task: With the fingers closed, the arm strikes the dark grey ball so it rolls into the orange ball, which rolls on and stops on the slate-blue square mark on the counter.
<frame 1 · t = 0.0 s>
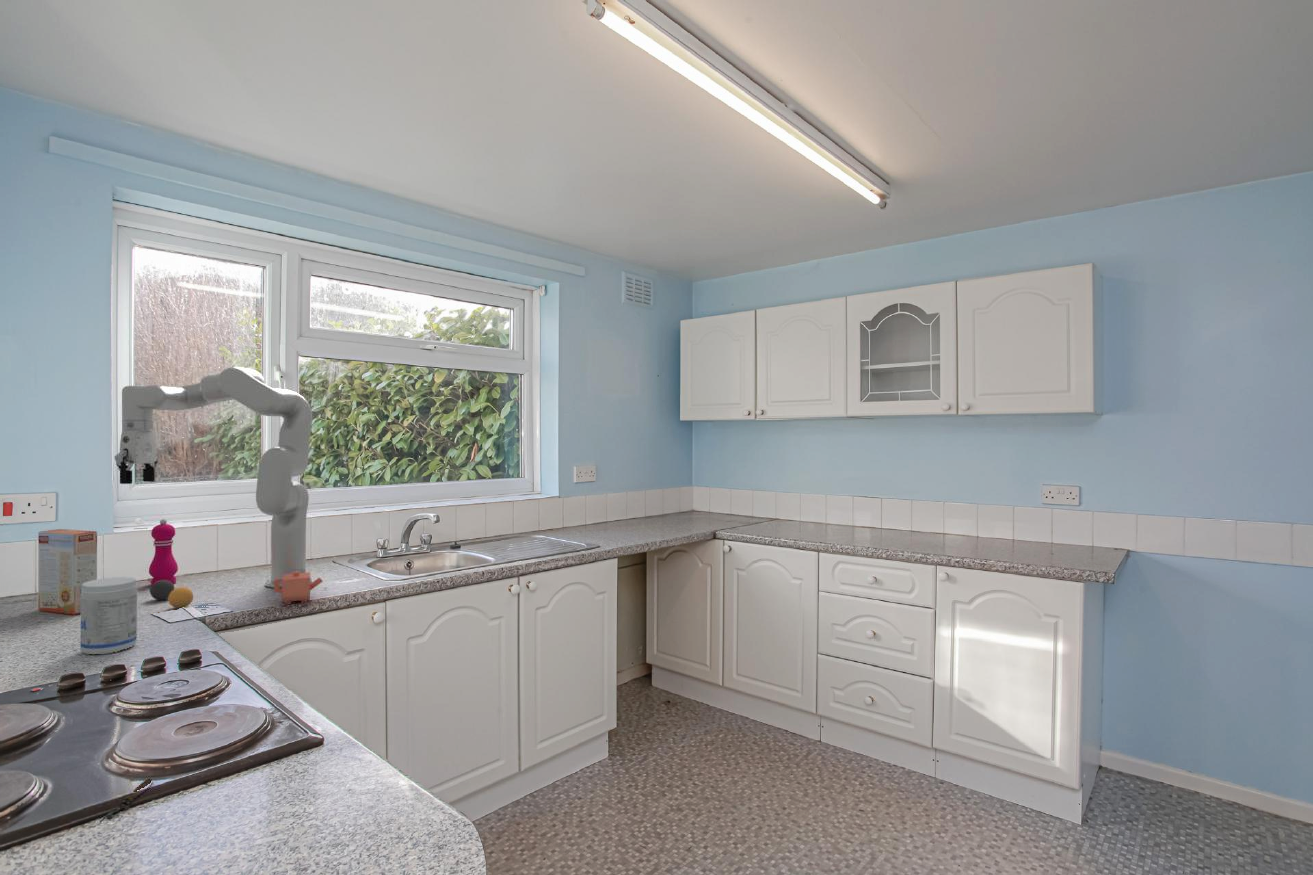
hand: (137, 482, 209), 31 cm above the countertop, tool pointing down, fingers open, 9 cm apart
can opener: (127, 806, 87), on the countertop
pink cube teapot: (298, 601, 190), on the countertop
orange ball: (180, 597, 182), on the countertop
dark grey ball: (162, 590, 190), on the countertop
supplement tub: (109, 650, 148), on the countertop
pepper mill: (163, 584, 210), on the countertop
cracker box: (68, 611, 179), on the countertop
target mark: (192, 612, 177), on the countertop
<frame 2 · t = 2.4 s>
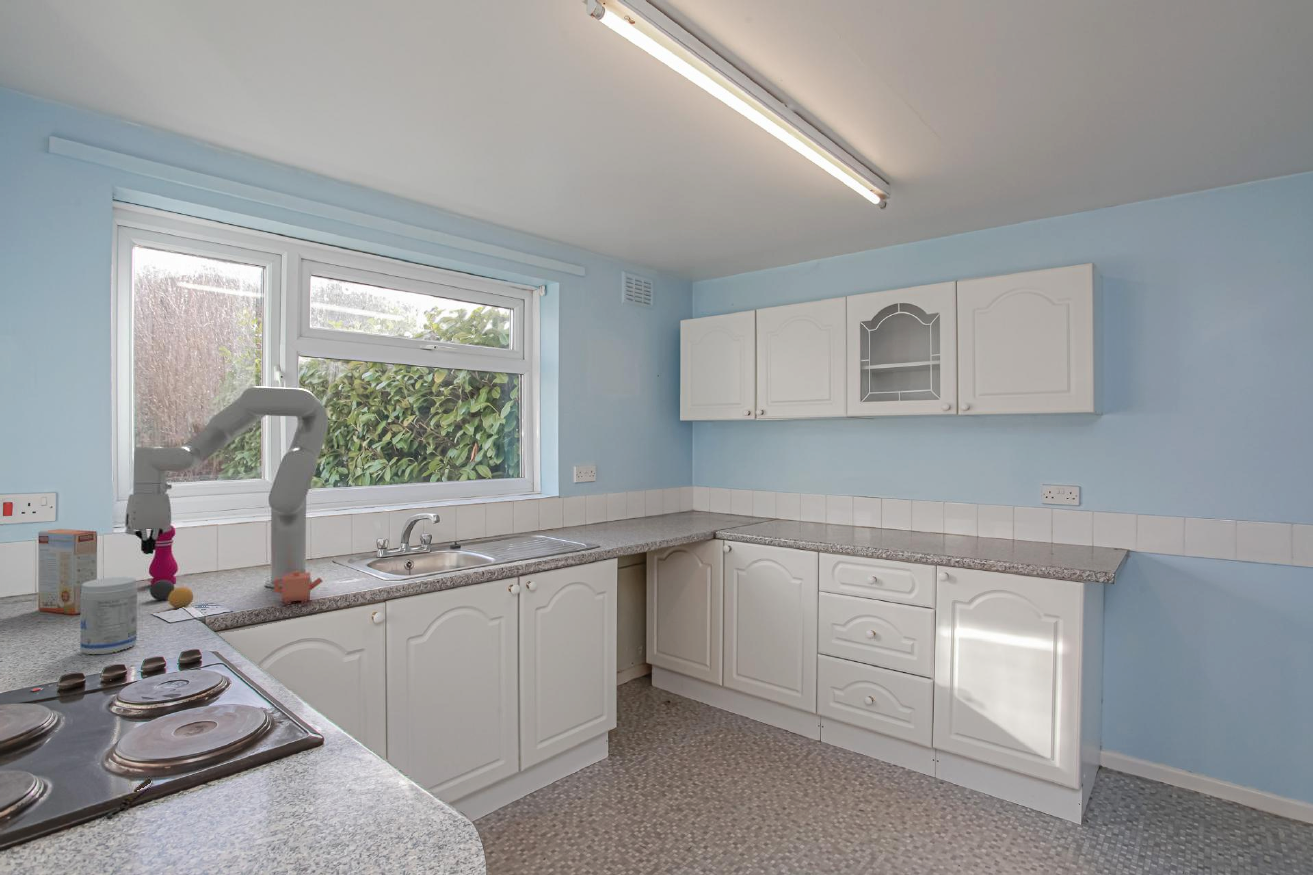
hand: (148, 553, 196), 12 cm above the countertop, tool pointing down, fingers closed
nothing on the countertop moved.
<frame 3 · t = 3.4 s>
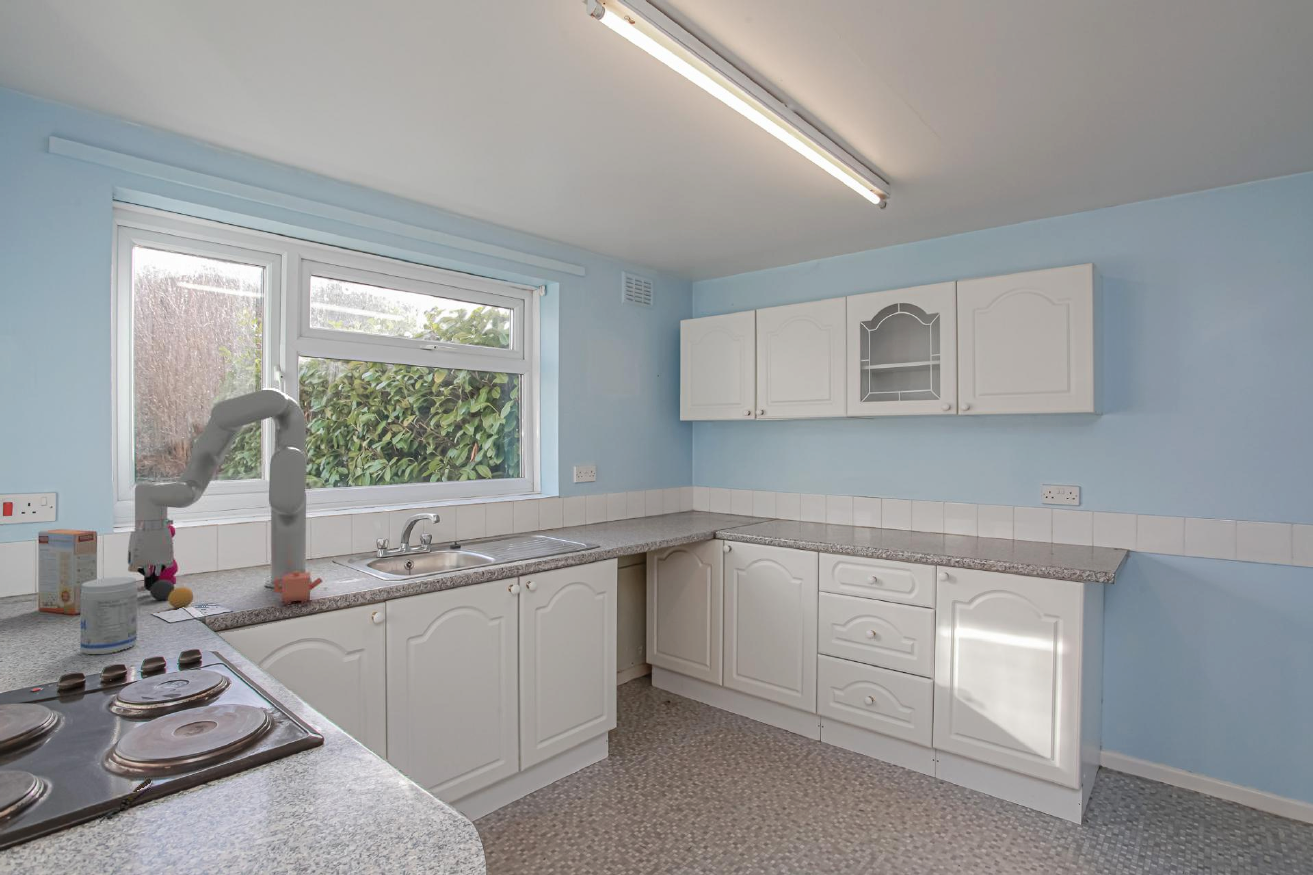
hand: (151, 589, 196), 2 cm above the countertop, tool pointing down, fingers closed
nothing on the countertop moved.
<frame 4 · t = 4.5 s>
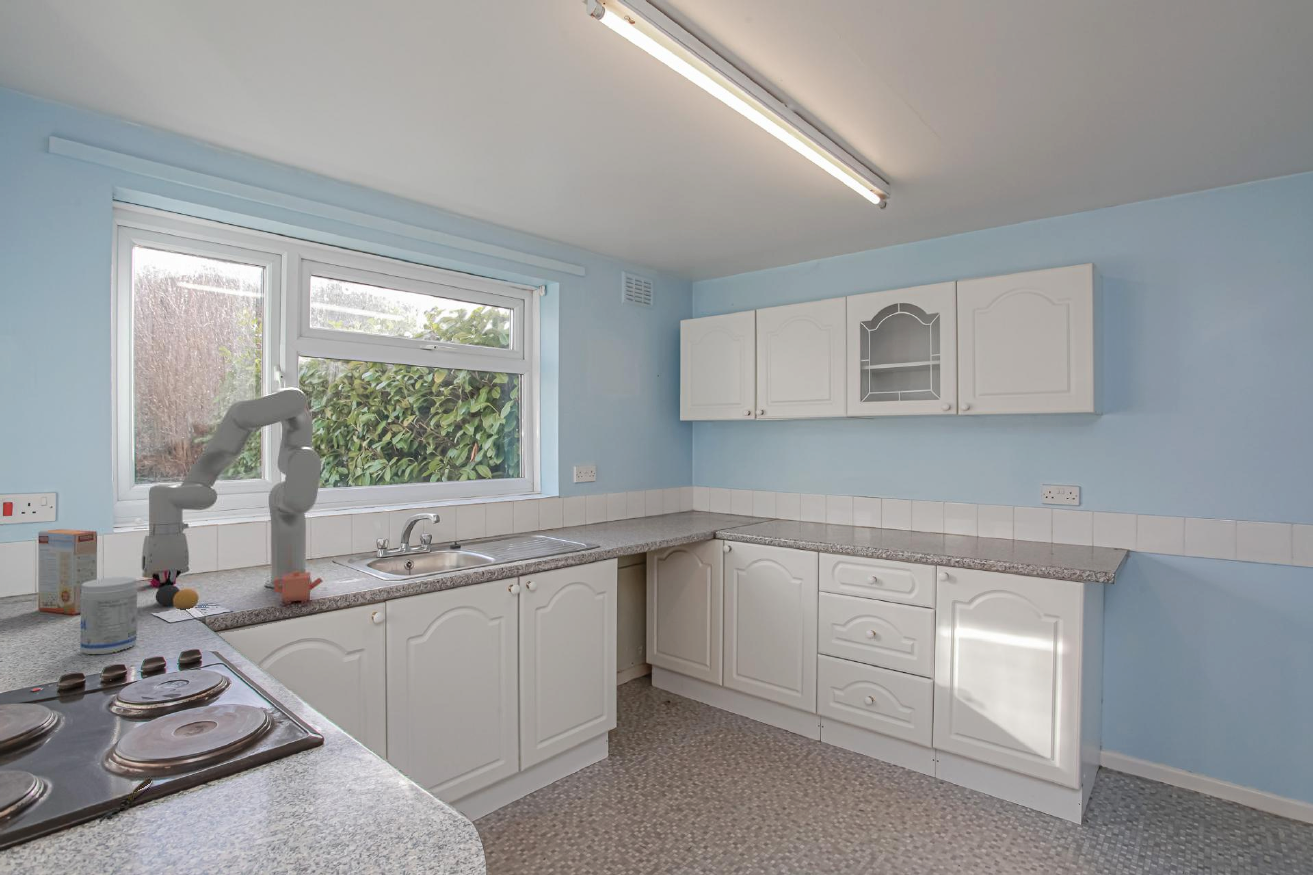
hand: (166, 596, 188), 1 cm above the countertop, tool pointing down, fingers closed
orange ball: (185, 599, 180), on the countertop
dark grey ball: (168, 595, 184), on the countertop
everything else where it was.
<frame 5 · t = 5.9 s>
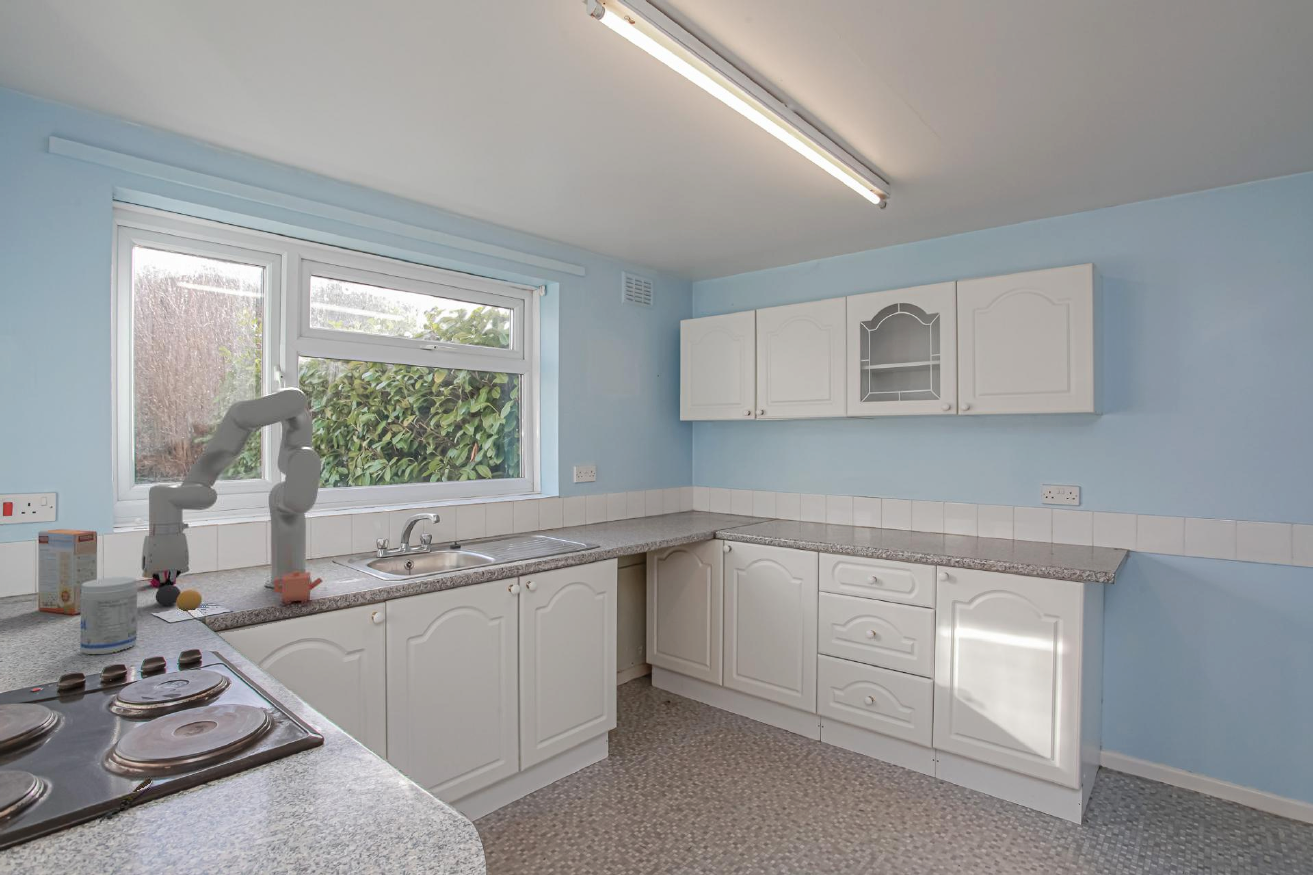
hand: (166, 596, 188), 2 cm above the countertop, tool pointing down, fingers closed
orange ball: (189, 600, 179), on the countertop
everything else where it was.
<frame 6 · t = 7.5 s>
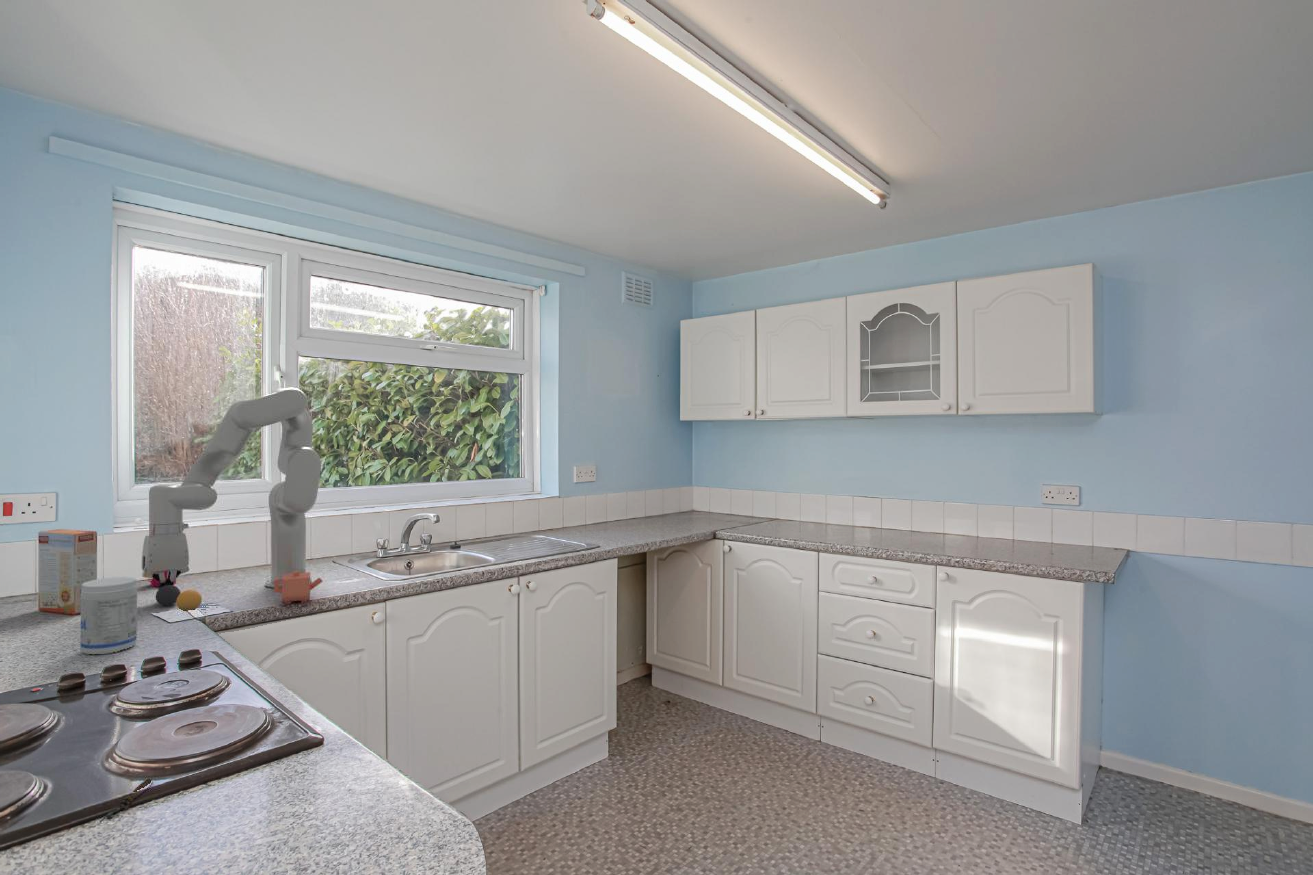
hand: (166, 596, 188), 2 cm above the countertop, tool pointing down, fingers closed
nothing on the countertop moved.
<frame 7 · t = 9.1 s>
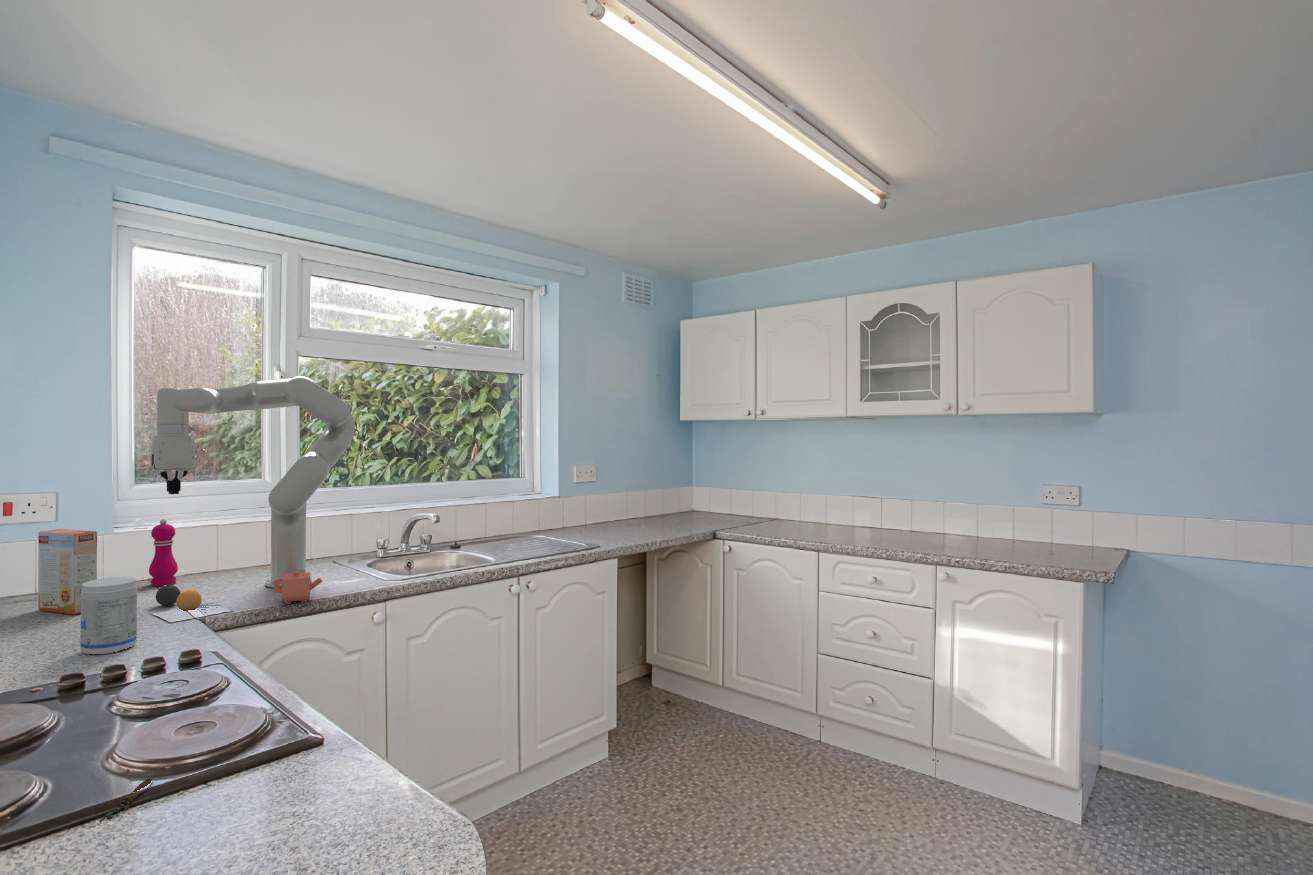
hand: (173, 493, 198), 29 cm above the countertop, tool pointing down, fingers closed
nothing on the countertop moved.
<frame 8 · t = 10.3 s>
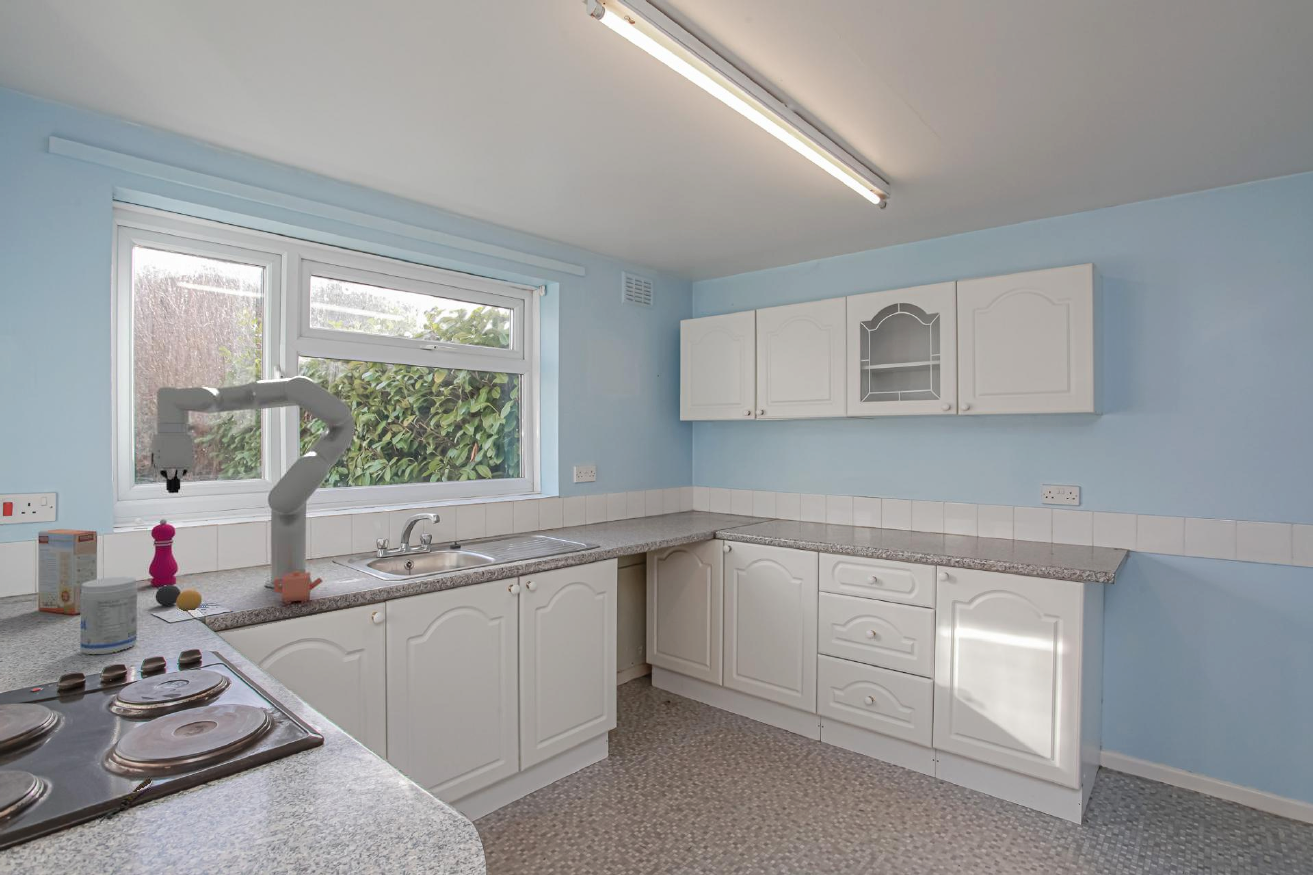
hand: (173, 492, 199), 29 cm above the countertop, tool pointing down, fingers closed
nothing on the countertop moved.
at the end: orange ball 2.6 cm from the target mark (horizontally); orange ball never touched the robot; dark grey ball first touched orange ball at 4.0 s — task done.
